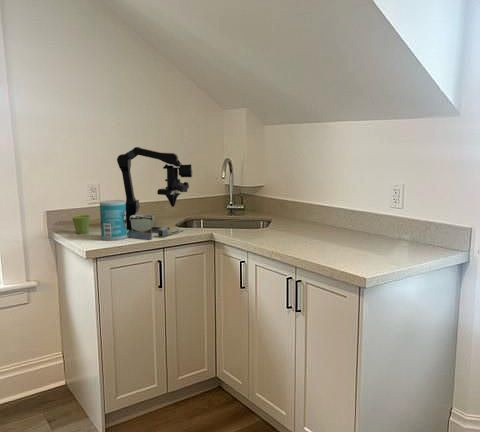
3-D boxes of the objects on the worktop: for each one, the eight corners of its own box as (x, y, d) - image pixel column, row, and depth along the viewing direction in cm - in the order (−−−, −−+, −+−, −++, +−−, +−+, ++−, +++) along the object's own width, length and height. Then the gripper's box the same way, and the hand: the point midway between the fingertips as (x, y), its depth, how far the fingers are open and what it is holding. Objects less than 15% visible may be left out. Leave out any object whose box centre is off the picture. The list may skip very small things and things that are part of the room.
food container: (157, 233, 245) (156, 214, 244) (154, 236, 239) (153, 216, 238) (133, 233, 246) (133, 214, 245) (129, 236, 240) (129, 216, 239)
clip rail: (157, 237, 236) (157, 229, 236) (178, 231, 252) (178, 223, 251) (162, 238, 235) (162, 229, 234) (183, 231, 250) (182, 224, 250)
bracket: (125, 237, 238) (125, 231, 238) (146, 231, 252) (146, 225, 252) (150, 239, 231) (149, 233, 230) (170, 233, 245) (170, 227, 245)
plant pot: (77, 235, 243) (76, 218, 241) (69, 233, 250) (68, 216, 248) (94, 233, 249) (93, 216, 247) (87, 230, 256) (86, 214, 254)
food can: (132, 237, 236) (130, 201, 233) (111, 242, 227) (109, 203, 224) (117, 234, 244) (115, 199, 241) (96, 238, 234) (94, 201, 232)
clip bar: (162, 236, 238) (161, 228, 238) (169, 234, 244) (169, 226, 243) (164, 236, 238) (164, 229, 237) (171, 234, 243) (171, 227, 242)
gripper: (173, 179, 243) (174, 210, 246) (195, 176, 259) (195, 205, 262) (156, 178, 249) (157, 208, 251) (178, 175, 265) (178, 204, 267)
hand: (173, 206), depth 258 cm, fingers closed
